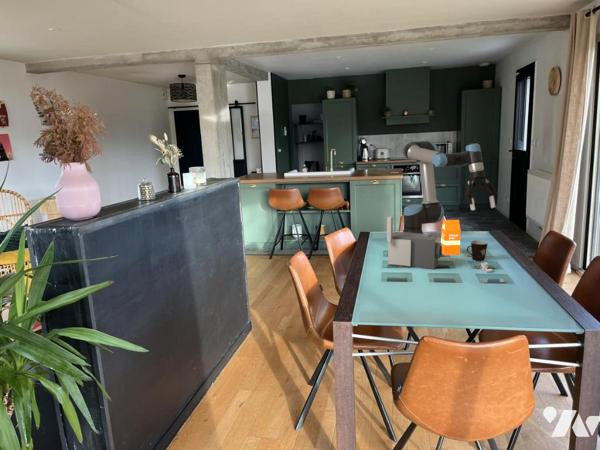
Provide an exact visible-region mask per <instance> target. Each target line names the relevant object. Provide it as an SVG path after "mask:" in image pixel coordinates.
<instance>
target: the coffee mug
mask: <svg viewBox="0 0 600 450" xmlns="http://www.w3.org/2000/svg"><path fill="white" fill-rule="evenodd" d="M488 244H489V243H488V242H487V241H485V240H471V241H470V245H469V246H467V248H466V251H467V253H468V254H469V255H471V260H472V259H473V260H472V261H474V260H475V262H485V259H486V254H487V250H488ZM469 248H471V252H470V251H469Z"/></svg>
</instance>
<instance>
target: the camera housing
mask: <svg viewBox="0 0 600 450" xmlns="http://www.w3.org/2000/svg"><path fill="white" fill-rule="evenodd" d="M439 238H440V234H433V233H427V232H423V234H420V233H406V232H403V231H394V232H393V239H403V240H411V266H403V265H394V264H388V265H389V266H395V267H396V266H397V267H405V268H415V269H424V270H432V271H433V270H435V269H436V267H437V265H438V263H439V259H440V258H441V257H442V255H443V253H442V244H441V242H440V239H439Z"/></svg>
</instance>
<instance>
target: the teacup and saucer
mask: <svg viewBox="0 0 600 450" xmlns="http://www.w3.org/2000/svg"><path fill="white" fill-rule="evenodd" d="M480 263H481V264H480V265H481V266H480V269H481V271H485V273H491V272H492V273H493V272H494V269H493V268H490V269H487V268H489V263H488V262H486V261H481V262H480ZM481 267H482V268H481ZM480 269H479V270H480ZM475 270H476V271H478V272H480V271H479V270H477V268H476V269H475Z"/></svg>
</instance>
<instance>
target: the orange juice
mask: <svg viewBox="0 0 600 450" xmlns="http://www.w3.org/2000/svg"><path fill="white" fill-rule="evenodd" d="M440 231H441V236H440V237H441V238H440V243H441V244H442V255H444V256H459V255H460V247H461V232H462V231H461V225H460V220H459V219H444V220H443V222H442V226H441V230H440ZM456 254H457V255H456ZM458 254H459V255H458Z"/></svg>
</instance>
